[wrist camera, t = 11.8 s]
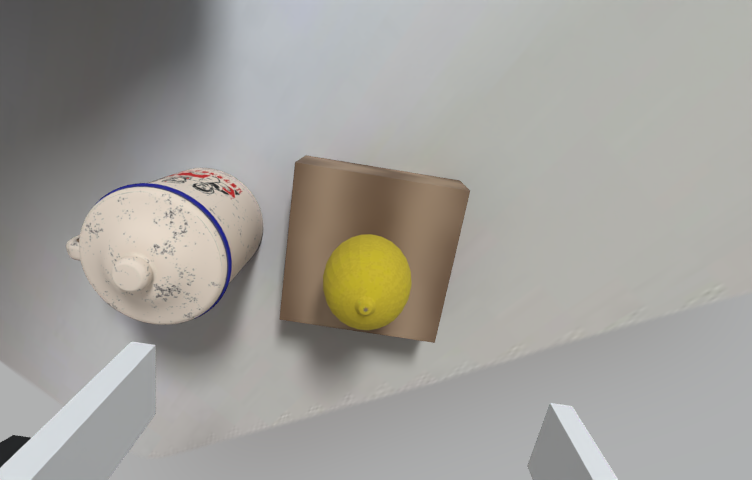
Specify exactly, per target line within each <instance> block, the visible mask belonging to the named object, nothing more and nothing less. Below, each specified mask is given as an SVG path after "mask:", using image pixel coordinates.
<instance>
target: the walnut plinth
mask: <svg viewBox="0 0 752 480" xmlns="http://www.w3.org/2000/svg"><path fill="white" fill-rule="evenodd" d="M469 193H470V190H469V189H468V188H467V187H466V186H465V185H464V184H463V183H462V182H461V181H459V180H453V179H447V178H440V177H434V176H428V175H422V174H416V173H410V172H404V171H398V170H391V169H385V168H379V167H373V166H367V165H361V164H355V163H349V162H343V161H336V160H330V159H324V158H318V157H312V156H304V157H303V158H301V159H300V160H298V161H297V162H295V170H294V180H293V190H292V200H291V210H290V220H289V230H288V240H287V250H286V260H285V270H284V280H283V290H282V300H281V310H280V320H286V321H293V322H300V323H306V324H313V325H320V326H327V327H333V328H340V329H347V330H353V331H360V332H367V333H373V334H380V335H387V336H393V337H400V338H407V339H414V340H420V341H427V342H434V343H435V339H436V335H437V330H438V326H439V322H440V318H441V313H442V309H443V305H444V300H445V296H446V292H447V288H448V283H449V279H450V275H451V270H452V266H453V262H454V258H455V253H456V249H457V245H458V240H459V236H460V232H461V228H462V223H463V219H464V215H465V210H466V206H467V202H468V198H469ZM366 234H372V235H377V236H381V237H383V238H385V239H387V240H389V241H391V242H392V243H394V244H395V245H396V246H397V247H398V248H399V249H400V250H401V251H402V253H403V254H404V256H405V257H406V259H407V262H408V265H409V267H410V271H411V283H412V285H411V290H410V295H409V299H408V301H407V303H406V305H405V307H404V309H403V311H402V312H401V313H400V314H399V316H398V317H397V318H396V319H395V320H394V321H392V322H391V323H389V324H388V325H386V326H384V327H381V328H378V329H373V330H360V329H356V328H352V327H349V326H347V325H346V324H344V323H343V322H341V321H340V320H339V319H338V318H337V317H336V316H335V315H334V314H333V313H332V311H331V309H330V308H329V306H328V304H327V302H326V298H325V295H324V291H323V274H324V270H325V267H326V263H327V261H328V259H329V258H330V256H331V254H332V253H333V251H334V250H335V249H336V248H337V247H338V246H339V245H340V244H341V243H342V242H344V241H346V240H348V239H350V238H351V237H355V236H358V235H366Z"/></svg>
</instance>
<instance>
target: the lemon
mask: <svg viewBox="0 0 752 480" xmlns="http://www.w3.org/2000/svg"><path fill="white" fill-rule="evenodd" d="M411 285H412V283H411V271H410V267H409V265H408V262H407V259H406V257H405V256H404V254H403V253H402V251H401V250H400V249H399V248H398V247H397V246H396V245H395V244H394V243H392V242H391V241H389V240H387V239H385V238H383V237H381V236H377V235H372V234H366V235H358V236H355V237H351V238H350V239H348V240H346V241H344V242H342V243H341V244H340V245H339V246H338V247H337V248H336V249H335V250H334V251H333V253H332V254H331V256H330V258H329V259H328V261H327V263H326V267H325V270H324V274H323V291H324V295H325V298H326V302H327V304H328V306H329V308H330V309H331V311H332V313H333V314H334V315H335V316H336V317H337V318H338V319H339V320H340V321H341V322H343V323H344V324H346V325H347V326H349V327H352V328H356V329H360V330H373V329H378V328H381V327H384V326H386V325H388V324H389V323H391V322H392V321H394V320H395V319H396V318H397V317H398V316H399V314H400V313H401V312H402V311H403V309H404V307H405V305H406V303H407V301H408V299H409V295H410V290H411Z"/></svg>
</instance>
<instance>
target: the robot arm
mask: <svg viewBox="0 0 752 480" xmlns="http://www.w3.org/2000/svg"><path fill="white" fill-rule="evenodd" d="M155 414H156V345H152V344H145V343H139V342H132V341H131V342H130V343H129V344H128V345H127V346H126V347H125V348H124V349H123V350H122V351H121V352H120V353H119V354H118V355H117V356H116V357H115V358H114V359H113V360H112V361H111V362H110V363H109V364H108V365H107V366H106V367H104V368H103V369H102V370H101V371H100V372H99V373H98V374H97V375H96V376H95V377H94V378H93V379H92V380H91V381H90V382H89V383H88V384H87V385H86V386H85V387H84V388H83V389H82V390H81V391H80V392H78V393H77V394H76V395H75V396H74V397H73V398H72V399H71V400H70V401H69V402H68V403H67V404H66V405H65V406H64V407H63V408H62V409H61V410H60V411H59V412H58V413H57V414H56V415H55V416H54V417H53V418H51V419H50V420H49V422H47V423H46V424H45V425H44V426H43V427H42V428H41V429H40V430H39V431H38V432H37V433H36V434H35V435H34V436H33V437H32V438H30V437H23V436H15V435H13V436H11V437H9V438H8V439H6V440H4V441H2V442H1V443H0V480H108V479H109V478H110V476H111V475H112V474H113V472H114V471H115V470H116V468H117V467H118V465H119V464H120V463H121V461H122V460H123V458H124V457H125V456H126V454H127V453H128V452H129V450H130V449H131V447H132V446H133V445H134V443H135V442H136V440H137V439H138V438H139V436H140V435H141V434H142V432H143V431H144V429H145V428H146V427H147V425H148V424H149V422H150V421H151V420H152V418H153V417H154V415H155ZM528 469H529V471H530V474H531V476H532V479H533V480H618V479H617V477H616V475H615V474H614V472H613V471H612V469H611V468H610V466H609V464H608V463H607V461H606V459H605V458H604V456H603V455H602V453H601V452H600V450H599V448H598V447H597V445H596V443H595V442H594V440H593V439H592V437H591V435H590V434H589V432H588V431H587V429H586V428H585V426H584V424H583V423H582V421H581V420H580V418H579V416H578V415H577V413H576V412H575V410H574V408H573V407H572V406H567V405H560V404H553V403H550V405H549V407H548V410H547V413H546V416H545V418H544V421H543V424H542V427H541V430H540V432H539V435H538V438H537V441H536V443H535V446H534V449H533V452H532V454H531V457H530V460H529V463H528Z"/></svg>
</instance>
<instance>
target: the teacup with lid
mask: <svg viewBox="0 0 752 480" xmlns="http://www.w3.org/2000/svg"><path fill="white" fill-rule="evenodd" d="M262 233H263V220H262V214H261V211H260V208H259V205H258V203H257V201H256V199H255V198H254V196H253V195H252V193H251V192H250V191H249V190H248V189H247V187H246V186H245V185H243V184H242V183H241V182H240V181H239V180H237V179H236V178H234V177H233V176H231V175H229V174H227V173H225V172H222V171H219V170H215V169H210V168H193V169H188V170H185V171H182V172H179V173H176V174H173V175H170V176H167V177H164V178H161V179H158V180H155V181H152V182H149V183H140V184H132V185H127V186H123V187H120V188H118V189H116V190H113V191H111V192H110V193H108V194H106V195H105V196H104V197H102V198H101V199H100V200H99V201H98V202H97V203H96V204H95V205H94V207H93V208H92V209H91V210H90V212H89V213H88V215H87V216H86V218H85V220H84V223H83V225H82V228H81V233H80V235H78V236H76V237H74V238H72V239H70V240H69V241H68V242H67V244H66V248H67V252H68V255H69V256H70V257H71V258H73V259H75V260H80V261H81V264H82V267H83V270H84V272H85V274H86V277H87V278H88V280H89V282H90V284H91V285H92V287H93V288H94V289H95V291H96V292H97V293H98V294H99V295H100V297H101V298H102V299H103V300H104V301H106V302H107V303H108V304H109V305H110V306H112V307H113V308H114V309H116V310H117V311H119V312H121V313H122V314H124V315H126V316H128V317H130V318H133V319H135V320H138V321H142V322H145V323H151V324H160V325H169V324H178V323H183V322H186V321H189V320H192V319H195V318H197V317H199V316H201V315H203V314H205V313H206V312H208V311H209V310H210V309H212V308H213V307H214V306H215V305H216V304H217V303H218V302H219V300H220V299H221V298H222V296H223V294H224V293H225V291H226V289H227V287H228V284H229V283H230V282H231V281H232V279H233V278H234V277H235V276H236V275H237V274H238V272H239V271H240V270H241V269H242V268H243V267H244V265H245V264H246V263H247V262H248V261H249V260H250V258H251V257H252V256H253V255H254V253H255V252H256V250H257V248H258V246H259V244H260V241H261V238H262Z"/></svg>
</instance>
